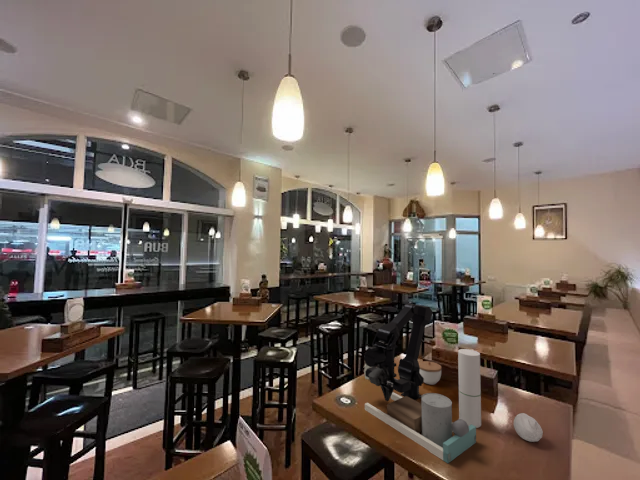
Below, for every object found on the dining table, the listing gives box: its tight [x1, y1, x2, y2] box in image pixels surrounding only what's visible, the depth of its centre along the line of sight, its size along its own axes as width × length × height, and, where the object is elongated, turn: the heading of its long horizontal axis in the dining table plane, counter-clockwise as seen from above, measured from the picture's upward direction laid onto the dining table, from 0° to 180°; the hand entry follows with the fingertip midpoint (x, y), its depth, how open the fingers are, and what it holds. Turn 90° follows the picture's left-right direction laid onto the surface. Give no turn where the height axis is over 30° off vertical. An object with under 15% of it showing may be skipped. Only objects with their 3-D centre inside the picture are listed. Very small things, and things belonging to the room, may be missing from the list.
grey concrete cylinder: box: [420, 392, 453, 448], centre depth 96 cm, size 10×10×12 cm
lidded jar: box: [418, 360, 442, 385], centre depth 138 cm, size 11×11×9 cm
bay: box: [364, 391, 477, 464], centre depth 102 cm, size 16×36×9 cm, turn 35°
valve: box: [363, 363, 371, 381], centre depth 139 cm, size 7×7×12 cm
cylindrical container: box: [457, 348, 482, 429], centre depth 105 cm, size 7×7×25 cm
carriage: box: [386, 396, 422, 434], centre depth 105 cm, size 11×12×5 cm
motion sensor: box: [513, 412, 544, 443], centre depth 95 cm, size 8×8×8 cm
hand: (387, 400), depth 114 cm, fingers closed
